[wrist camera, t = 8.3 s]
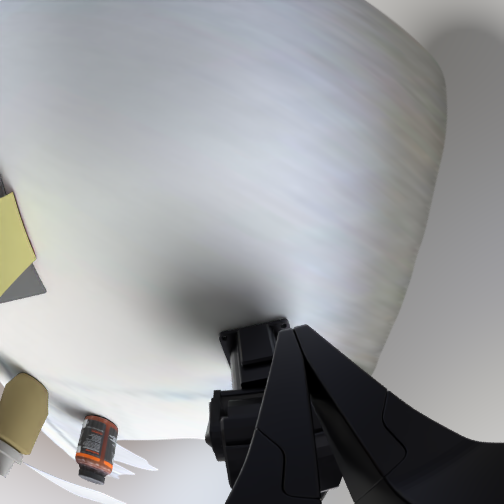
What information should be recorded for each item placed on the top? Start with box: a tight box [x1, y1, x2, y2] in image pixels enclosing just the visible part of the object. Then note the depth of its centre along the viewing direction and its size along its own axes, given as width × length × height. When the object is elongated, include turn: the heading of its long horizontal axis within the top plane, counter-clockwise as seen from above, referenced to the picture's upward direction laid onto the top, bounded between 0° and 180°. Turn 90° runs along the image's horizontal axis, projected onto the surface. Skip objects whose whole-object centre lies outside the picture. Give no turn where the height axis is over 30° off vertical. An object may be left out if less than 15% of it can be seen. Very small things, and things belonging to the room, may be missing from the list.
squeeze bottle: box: [0, 373, 48, 477], centre depth 19 cm, size 8×8×18 cm
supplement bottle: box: [75, 415, 118, 485], centre depth 27 cm, size 6×6×11 cm
